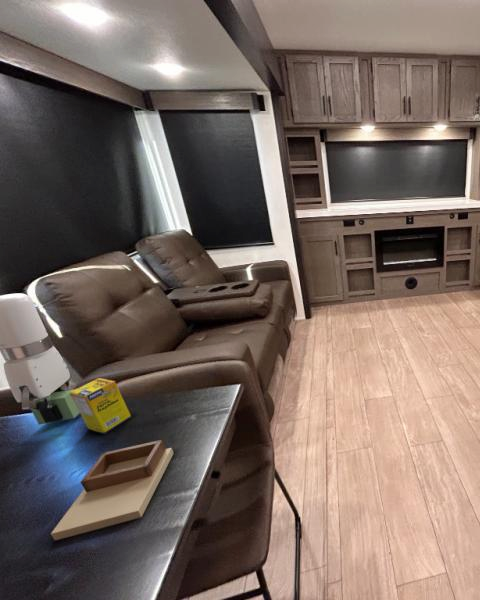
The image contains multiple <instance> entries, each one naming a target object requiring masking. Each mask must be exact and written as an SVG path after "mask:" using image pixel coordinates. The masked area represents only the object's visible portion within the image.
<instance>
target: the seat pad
mask: <svg viewBox="0 0 480 600" xmlns="http://www.w3.org/2000/svg"><path fill="white" fill-rule="evenodd" d="M174 454H175V453H174V450H173V448H172V447H169V448H166V446H165V443H164V441H163V439H159V440H155V441H150V442H145V443H142V444H137V445H132V446H128V447H124V448H119V449H115V450H110V451H105V452H102V453H101V454H100V456H99V458H97V460H96V462H95V463H93V465H92V466H91V468H90V469H89V471H88V472H87V473H86V474H85V475H84V477H83V478H82V479H81V481H80V484H81V486H82V487H83V489H82V491H81V492H80V494H78V497H76V499H75V500H74V502H73V503H72V504H71V505H70V507H69V509H68V510H67V511H66V512H65V514H64V515H63V517H62V518H61V519H60V521H58V523H57V525H56V526H55V527H54V528H53V530H52V531H51V532H50V535H51V537H52V539H53V540H54V541H58V540H62V539H65V538H66V539H67V538H70V537H73V536H77V535H80V534H85V533H88V532H92V531H96V530H99V529H103V528H107V527H111V526H115V525H118V524H121V523H125V522H128V521H133V520H136V519H137V520H138V519H140V518H143V515H144V513H145V511H146V509H147V507H148V506H149V503H150V501H151V499H152V497H153V496H154V493H155V491H156V489H157V487H158V485H159V483H160V482H161V479H162V477H163V475H164V474H165V472H166V470H167V468H168V465H169V463H170V462H171V459H172V458H173V455H174Z"/></svg>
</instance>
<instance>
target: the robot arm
mask: <svg viewBox="0 0 480 600" xmlns="http://www.w3.org/2000/svg"><path fill="white" fill-rule="evenodd" d="M0 354H1V356H2V358H3V360H4V361H5V362H4V363H3V371H4V374H5V378H6V381H7V384H8V386H9V389H10V391H11V393H12V396H13V397H14V399H15V401H16V402H17V403H19V404H20V403H21V409H22V410H23V411H24V410H31V409H35V410H36V411H38V410H39V412H40V413H41V415H42V417H43V419H44V421H45V422H46V423H45V424H50V423H49V422H51V423H56V422H61V421H60V420H62V419H63V417H62V415H61V413H60V411H59V409H58V407H57V405H53V401H52V398H51V395H50V394H51V393H55V392H61V391H67V390H70V388H69V386H70V381H71V378H72V374H71V373H70V371H69V367H68V366H67V364H66V362H65V360H64V358H63V357H62V355H61V354H60V352H59V351H58V349H57V348H56V347H55V346H54V344H53V342H52V340H51V338H50V336H49V334H48V332H47V329H46V327H45V325H44V323H43V321H42V318H41V317H40V315H39V312H38V310H37V308H36V305H35V303H34V302H33V300H32V298H31V297H30V295H28V294H26V293H21V292H20V293H9V294H1V295H0ZM42 399H44V401H45V402H40V400H42ZM55 421H56V422H55ZM62 421H63V420H62Z"/></svg>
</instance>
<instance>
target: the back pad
mask: <svg viewBox="0 0 480 600" xmlns="http://www.w3.org/2000/svg"><path fill="white" fill-rule="evenodd" d="M74 390H75V389H74V388H73V389H69V390H67V391H61V392H55V393H51V394H50V395H51V398H52V401H53V405H57V407H58V409H59V411H60V413H61V415H62V417H63V419H62V420H60V421H59V422H61V421H67V420H72V419H75V418H76V417H77V416H78V415H79V414H81V413H80V412H79V410H78V408H77V406H76V404H75V402H74V400H73V399H72V397H71V395H70V392H72V391H74ZM40 402H45V401H44V399H42V400H40ZM30 411H31V413H32V415H33V416H34V418H35V421H36V422H37V424H38V426H40V425H45V424H47V423H46V422H45V421H44V419H43V417H42V415H41V413H40V412H39V410H38V411H36V410H35V409H30ZM56 422H57V421H55V422H54V423H56ZM50 423H52V422H49V423H48V424H50Z"/></svg>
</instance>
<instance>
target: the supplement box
mask: <svg viewBox="0 0 480 600" xmlns="http://www.w3.org/2000/svg"><path fill="white" fill-rule="evenodd" d="M70 395H71V397H72V399H73V400H74V402H75V404H76V406H77V408H78V410H79V412H80V413H79V414H80V415H81V417H82V419H83V422H84V423H85V425H86V426H87V429H88V430H89V431H91V432H95V433H97V434H102V435H106V434H107V433H109V432H110V431H112V430H114V429H115V428H117V427H118V426H120V425H122V424H123V423H125V422H126V421H128V420H130V419H131V418H132V415H131V413H130V411H129V409H128V407H127V405H126V402H125V400H124V398H123V396H122V394H121V392H120V389H119V387H118V384H117V383H116V381H115V380H111V379H106V378H103V377H99V378H96V379H94V380H92V381H90V382H88V383H86V384H84V385H82V386H80V387H78V388H76V389H74V391H72V392H70Z"/></svg>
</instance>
